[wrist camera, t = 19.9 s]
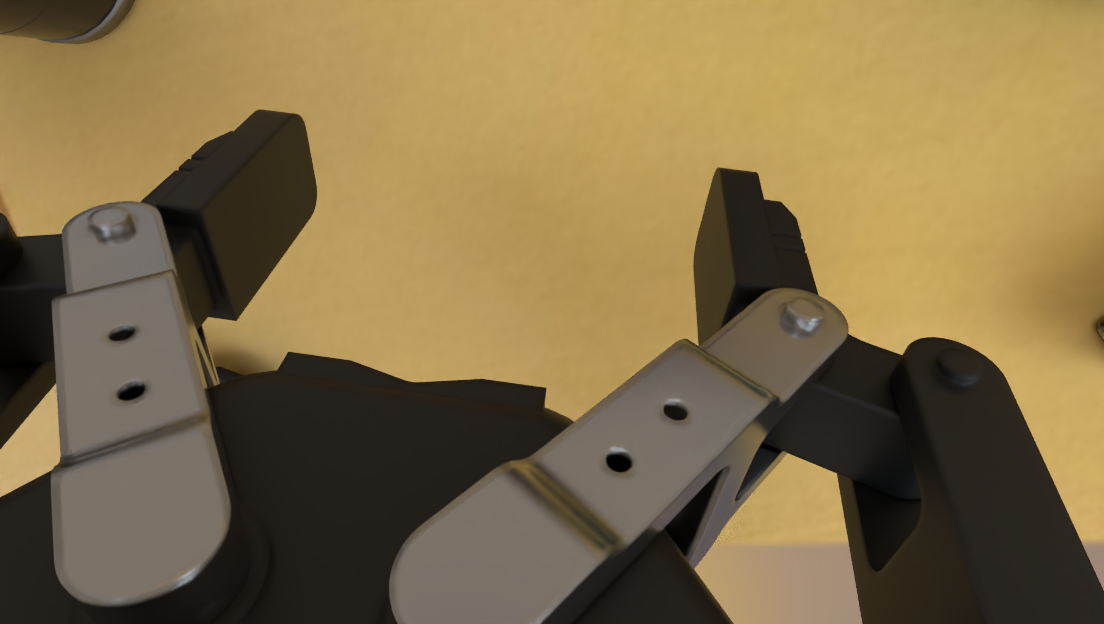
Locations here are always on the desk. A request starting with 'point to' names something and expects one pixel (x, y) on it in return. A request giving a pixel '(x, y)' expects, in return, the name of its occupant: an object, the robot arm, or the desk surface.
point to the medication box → (1101, 329)
